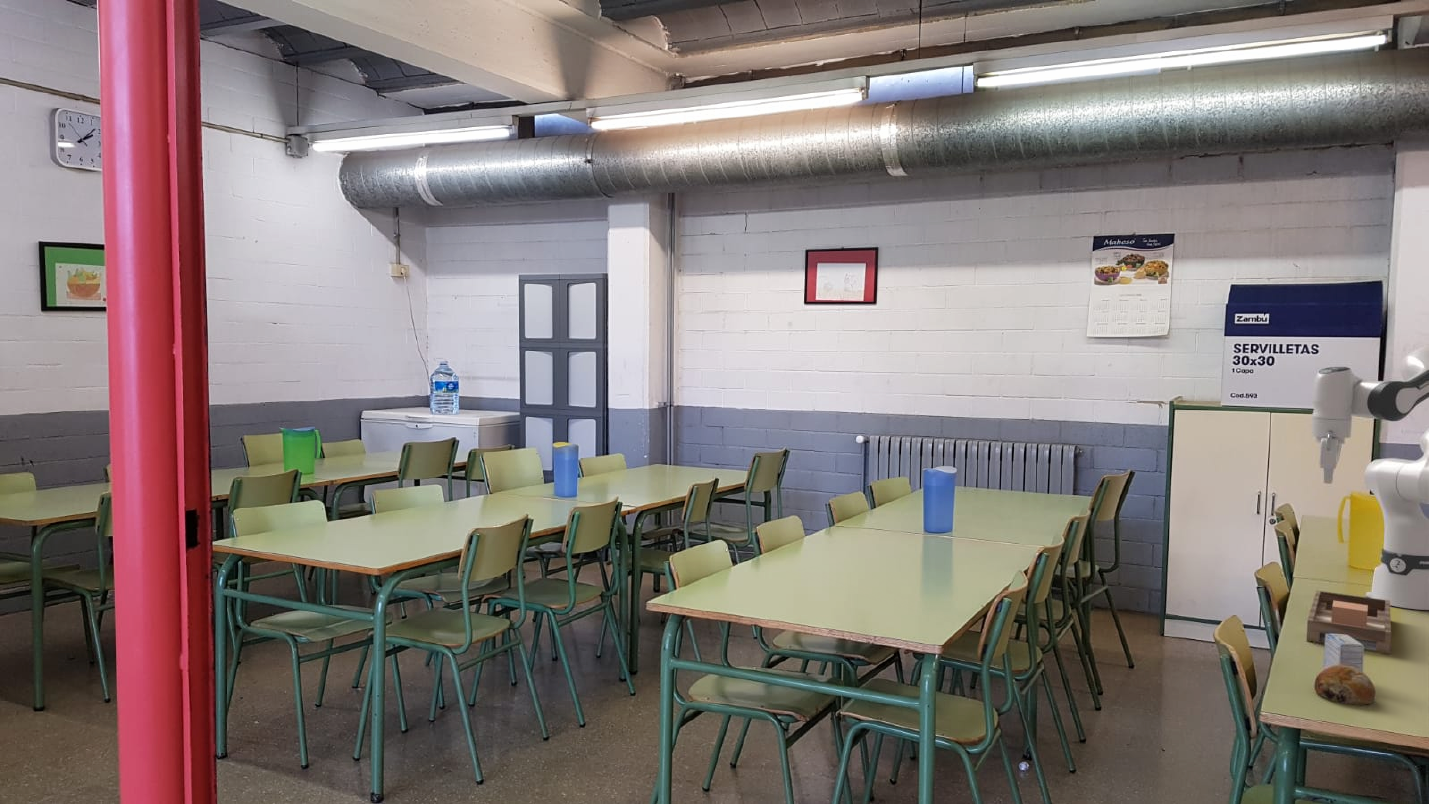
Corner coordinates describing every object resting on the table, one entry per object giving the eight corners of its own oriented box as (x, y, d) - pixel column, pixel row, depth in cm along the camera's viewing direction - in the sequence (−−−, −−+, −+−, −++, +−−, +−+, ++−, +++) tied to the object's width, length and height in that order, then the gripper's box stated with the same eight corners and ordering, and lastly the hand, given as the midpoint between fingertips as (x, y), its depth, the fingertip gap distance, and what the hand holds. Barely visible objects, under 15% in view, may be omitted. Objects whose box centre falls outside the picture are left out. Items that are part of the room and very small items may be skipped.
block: (1332, 618, 242) (1333, 600, 241) (1366, 623, 238) (1367, 605, 238) (1331, 625, 236) (1332, 606, 236) (1366, 630, 232) (1367, 611, 232)
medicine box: (1362, 688, 199) (1365, 645, 198) (1338, 685, 199) (1340, 643, 199) (1345, 675, 206) (1348, 634, 206) (1322, 673, 207) (1324, 632, 207)
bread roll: (1378, 724, 189) (1396, 686, 189) (1336, 703, 187) (1355, 665, 187) (1337, 705, 198) (1354, 669, 199) (1297, 685, 197) (1315, 649, 197)
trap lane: (1315, 609, 260) (1316, 590, 260) (1388, 620, 252) (1389, 600, 251) (1306, 641, 231) (1307, 619, 230) (1389, 654, 222) (1390, 632, 221)
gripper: (1344, 433, 246) (1341, 488, 246) (1346, 428, 263) (1343, 480, 263) (1314, 431, 249) (1311, 486, 250) (1318, 426, 266) (1315, 477, 267)
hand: (1328, 483), depth 257 cm, fingers closed
